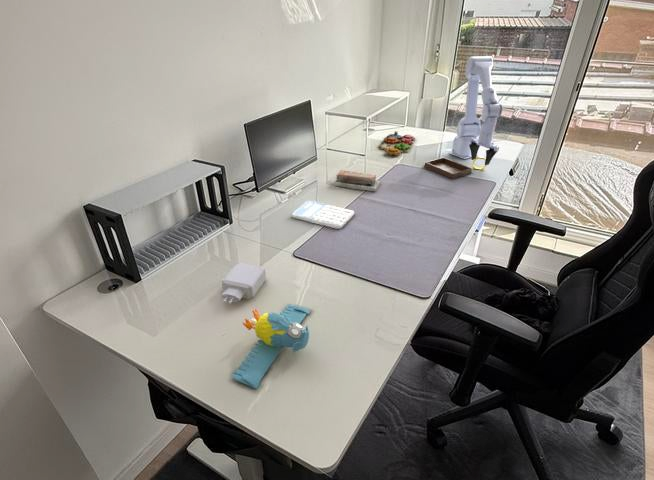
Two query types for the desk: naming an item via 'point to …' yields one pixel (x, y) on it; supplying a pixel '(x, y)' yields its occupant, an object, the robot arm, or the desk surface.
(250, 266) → the charger
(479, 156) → the watch
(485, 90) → the robot arm
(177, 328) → the desk surface
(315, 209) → the calculator
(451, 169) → the tray
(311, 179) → the desk surface
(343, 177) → the packaged product
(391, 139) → the gear puzzle
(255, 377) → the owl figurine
